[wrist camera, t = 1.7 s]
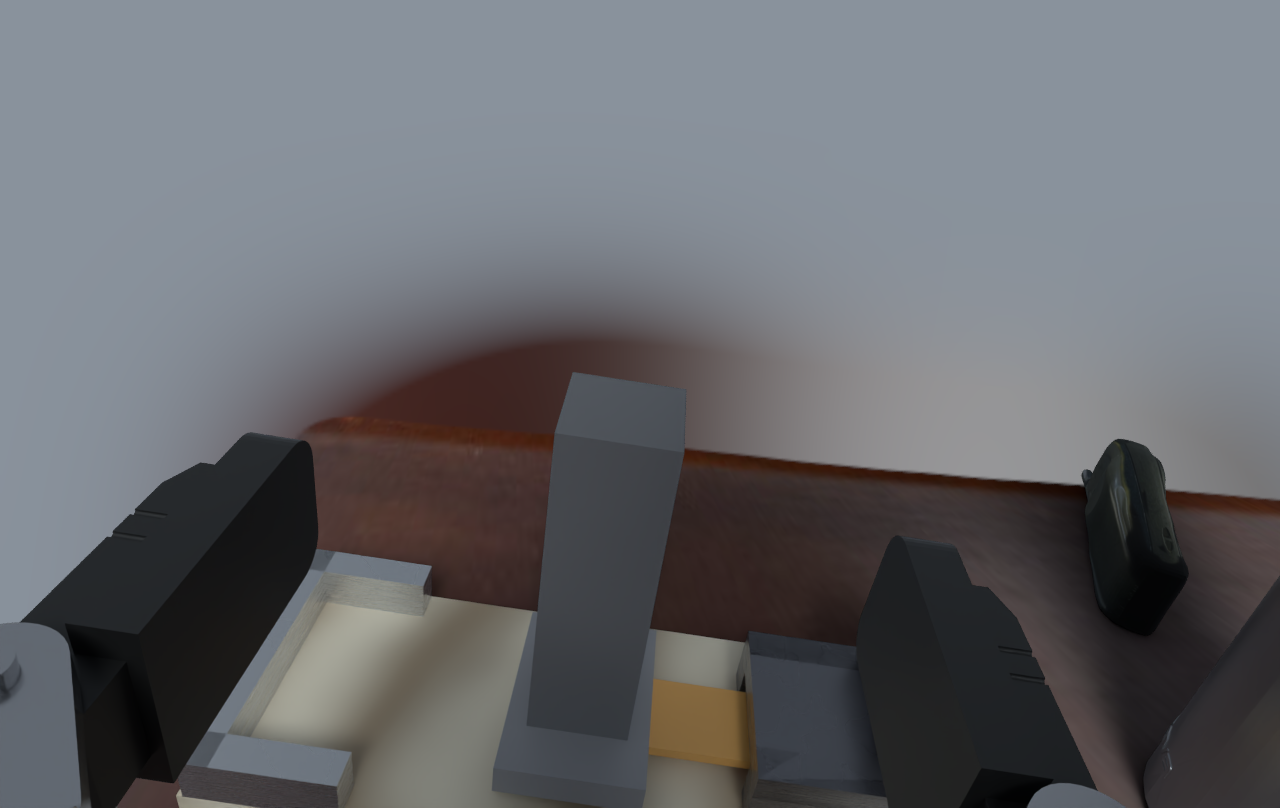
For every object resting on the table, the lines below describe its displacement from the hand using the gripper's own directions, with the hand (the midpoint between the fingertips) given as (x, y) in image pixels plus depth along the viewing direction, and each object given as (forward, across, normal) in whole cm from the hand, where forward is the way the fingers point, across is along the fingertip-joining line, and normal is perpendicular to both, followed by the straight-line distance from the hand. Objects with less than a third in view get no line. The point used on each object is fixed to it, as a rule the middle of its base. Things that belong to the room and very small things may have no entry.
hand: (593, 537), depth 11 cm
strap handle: (+11, -6, +18) cm, 22 cm away
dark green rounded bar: (+30, -29, +20) cm, 46 cm away
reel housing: (+11, -10, +18) cm, 23 cm away
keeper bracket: (+11, +9, +18) cm, 23 cm away
